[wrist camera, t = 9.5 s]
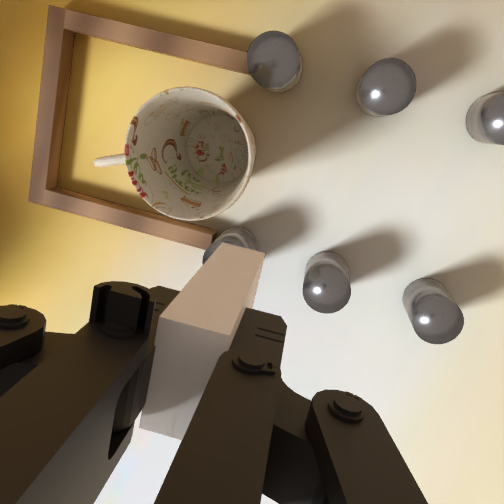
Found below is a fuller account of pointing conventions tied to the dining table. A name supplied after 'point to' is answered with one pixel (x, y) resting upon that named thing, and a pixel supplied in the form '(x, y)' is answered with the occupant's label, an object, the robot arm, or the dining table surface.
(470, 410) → the dining table surface
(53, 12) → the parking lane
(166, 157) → the mug
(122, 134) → the dining table surface
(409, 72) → the spacer field
